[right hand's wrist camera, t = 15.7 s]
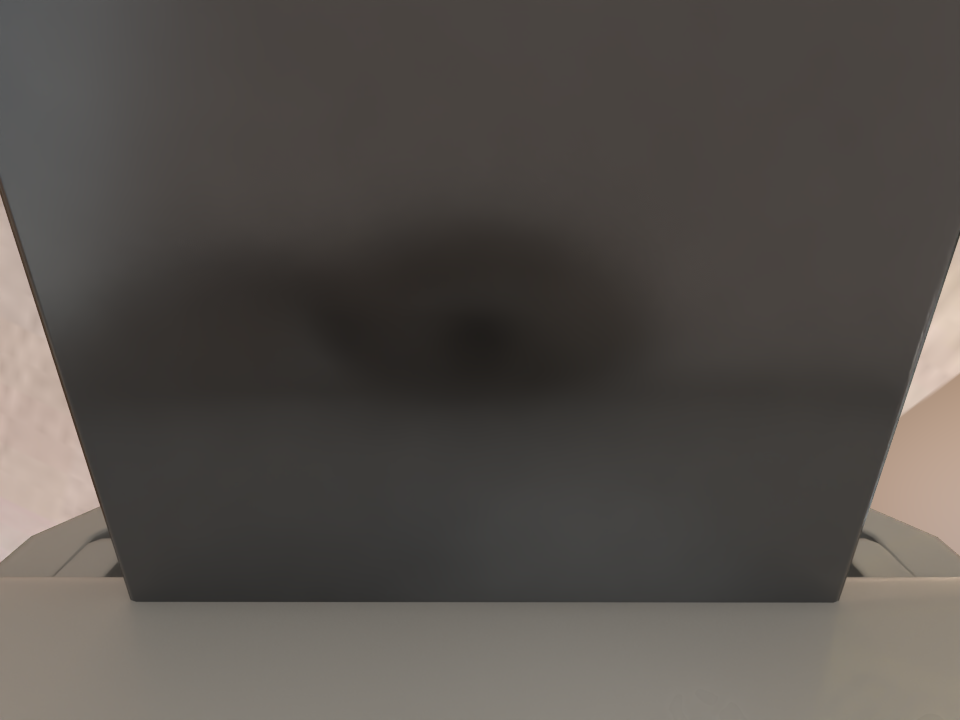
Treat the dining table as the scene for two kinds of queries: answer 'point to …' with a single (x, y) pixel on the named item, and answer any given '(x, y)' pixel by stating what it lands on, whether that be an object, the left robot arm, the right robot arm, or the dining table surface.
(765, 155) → the box
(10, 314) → the dining table surface
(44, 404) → the dining table surface
